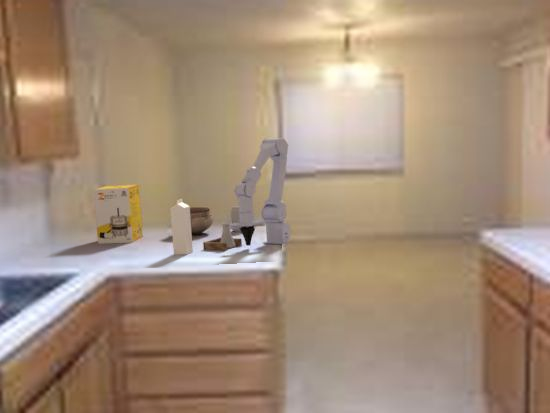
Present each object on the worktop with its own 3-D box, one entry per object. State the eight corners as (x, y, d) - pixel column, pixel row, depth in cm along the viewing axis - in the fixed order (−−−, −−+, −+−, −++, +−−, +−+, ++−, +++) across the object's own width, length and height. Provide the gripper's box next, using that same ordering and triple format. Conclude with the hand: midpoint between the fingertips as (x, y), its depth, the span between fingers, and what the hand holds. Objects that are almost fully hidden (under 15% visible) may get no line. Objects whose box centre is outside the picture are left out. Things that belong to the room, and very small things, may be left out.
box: (241, 245, 297) (241, 238, 297) (225, 250, 287) (224, 243, 286) (220, 244, 303) (220, 237, 302) (203, 249, 293) (203, 242, 292)
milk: (173, 254, 285) (169, 200, 282) (179, 251, 290) (175, 198, 288) (187, 254, 283) (183, 199, 280) (193, 251, 289) (189, 198, 286)
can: (240, 232, 334) (239, 207, 333) (228, 231, 339) (227, 206, 337) (250, 230, 340) (249, 205, 339) (238, 229, 345) (237, 204, 343)
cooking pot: (181, 230, 350) (180, 206, 349) (219, 229, 347) (217, 204, 346) (166, 239, 325) (164, 213, 324) (206, 238, 323) (205, 211, 321)
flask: (239, 246, 295) (238, 223, 293) (224, 249, 290) (223, 225, 289) (229, 245, 300) (228, 221, 299) (215, 247, 296) (213, 223, 295)
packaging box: (98, 243, 324) (93, 189, 321) (109, 237, 340) (105, 186, 337) (132, 242, 322) (128, 187, 319) (142, 236, 338) (138, 184, 335)
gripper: (260, 209, 292) (262, 241, 294) (226, 212, 288) (228, 245, 290) (265, 211, 286) (267, 244, 287) (230, 214, 281) (232, 248, 283)
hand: (248, 245), depth 288 cm, fingers closed
